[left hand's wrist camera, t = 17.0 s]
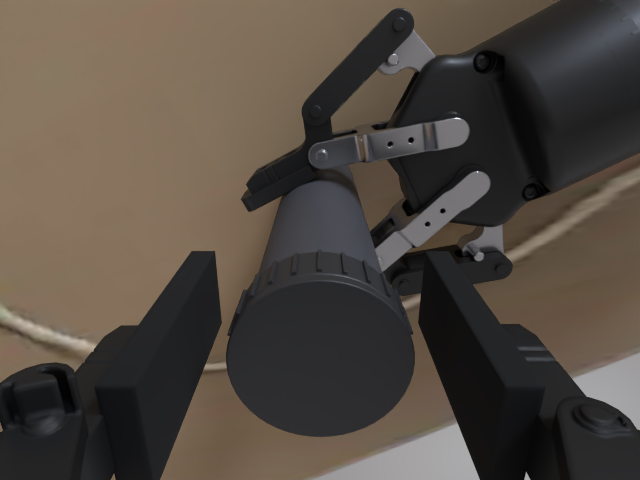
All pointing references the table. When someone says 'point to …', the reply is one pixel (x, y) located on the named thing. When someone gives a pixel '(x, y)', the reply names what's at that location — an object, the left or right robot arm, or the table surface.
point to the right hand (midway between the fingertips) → (273, 242)
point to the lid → (320, 345)
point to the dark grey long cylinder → (321, 220)
